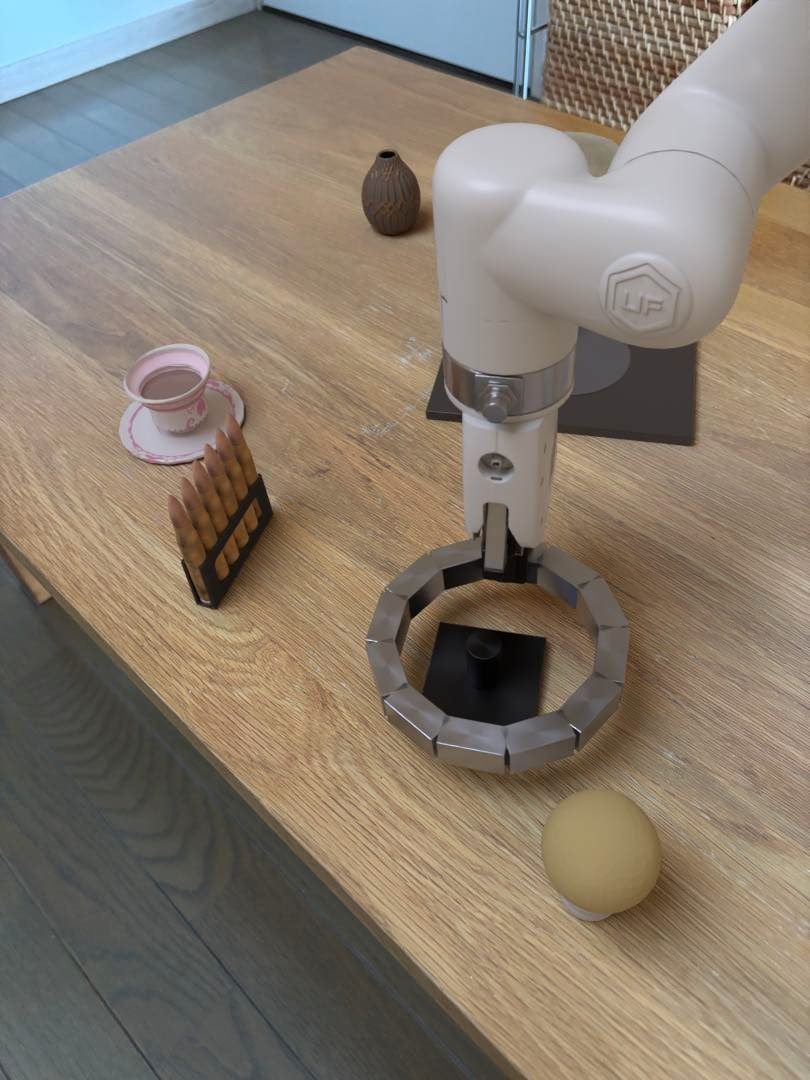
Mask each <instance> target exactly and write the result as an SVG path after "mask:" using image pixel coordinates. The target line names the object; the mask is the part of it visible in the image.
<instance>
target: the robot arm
mask: <svg viewBox="0 0 810 1080" xmlns="http://www.w3.org/2000/svg"><path fill="white" fill-rule="evenodd" d="M562 132H563V131H561V130H558V129H556V128H554V127H551V126H547V125H543V124H538V123H530V122H504V123H496V124H491V125H487V126H482V127H478V128H475V129H472V130H470V131H468V132H466V133H464V134H461V136H458V137H457V138H455V139H454V140H453V141H452V142H451V143H449V144H448V145H447V146H446V147H445V148H444V150H443V151H442V153H441V154H440V155H439V157H438V158H437V161H436V163H435V166H434V169H433V172H432V178H431V199H432V201H431V202H432V203H431V204H432V216H433V230H434V231H433V232H434V246H435V261H436V262H435V263H436V277H437V292H438V307H439V323H440V335H441V338H440V339H441V351H442V352H441V353H442V357H443V369H444V384H445V390H446V393H447V395H448V397H449V399H450V400H451V401H452V403H453V404H454V405H455V406H456V407H457V408H459V409H460V410H461V411H462V422H461V440H460V441H461V442H460V443H461V447H462V448H461V458H462V459H461V461H462V463H461V465H462V466H461V468H462V499H463V500H462V501H463V516H464V517H463V518H464V527H465V532H466V534H467V536H468V538H469V539H472V540H473V541H475V539H476V538H479V537H480V536H482V542H481V555H482V577H483V578H484V580H486V581H494V582H497V583H501V584H517V585H525V584H527V583H526V582H527V576H528V548H529V547H530V548H535V547H536V546H538V545H539V544H540V543H541V542H543V539H544V535H545V531H546V526H547V521H548V514H549V510H550V509H549V508H550V503H551V498H552V497H551V496H552V489H553V484H554V479H555V472H556V464H557V457H558V456H557V455H558V454H557V453H558V432H557V421H558V408H559V407H560V406H561V405H563V404H564V403H565V401H566V400H567V399H568V398H569V396H570V394H571V392H572V390H573V387H574V379H575V364H576V351H577V338H578V326H581V327H583V328H586V329H588V330H591V331H593V332H596V333H598V334H601V335H603V336H606V337H609V338H612V339H615V340H618V341H620V342H623V343H627V344H631V345H635V346H640V347H645V348H656V349H668V348H677V347H681V346H685V345H689V344H691V343H694V342H696V343H697V342H698V341H700V340H703V339H704V338H705V337H707V336H708V335H710V334H711V333H712V332H714V331H715V330H716V329H717V328H718V327H719V326H720V325H721V324H722V323H723V322H724V320H725V319H726V317H727V316H728V314H729V313H730V312H731V310H732V308H733V306H734V303H735V301H736V300H737V297H738V295H739V292H740V289H741V285H742V282H743V279H744V274H745V271H746V266H747V262H748V257H749V254H750V249H751V245H752V240H753V236H754V231H755V227H756V224H757V219H758V216H759V215H758V214H759V212H760V206H761V202H762V198H763V197H765V195H766V194H768V193H769V192H770V191H771V190H772V189H773V188H774V187H776V186H777V185H779V183H780V182H782V181H783V180H785V179H786V178H787V177H788V176H790V175H791V174H793V172H795V171H796V170H798V169H799V168H800V167H801V166H803V165H804V164H805V163H807V162H808V161H809V160H810V0H757V1H756V2H755V3H754V4H753V5H752V6H750V7H749V8H748V9H747V10H746V11H745V12H744V13H743V14H742V15H741V16H740V17H738V19H736V20H735V21H734V23H732V24H731V25H730V26H729V27H728V28H727V29H726V30H725V31H724V32H723V33H722V34H721V35H720V36H719V37H717V39H715V40H714V42H712V43H711V44H710V45H709V46H708V47H707V48H706V49H705V50H704V51H703V52H702V53H701V54H700V55H698V57H697V58H696V59H694V61H692V62H691V63H690V64H689V65H688V66H687V67H686V68H685V69H684V70H683V71H682V72H681V73H680V74H679V75H678V76H677V77H676V78H675V79H673V81H672V82H671V83H669V85H668V86H666V88H665V89H664V90H662V92H660V93H659V95H657V97H656V98H655V99H654V100H653V101H652V102H651V103H650V104H649V105H648V106H647V107H646V108H645V109H644V111H642V113H641V114H640V115H639V116H638V117H637V119H636V120H635V122H634V123H633V124H632V126H630V128H629V129H628V131H627V133H626V134H625V135H624V138H623V140H622V141H621V143H620V145H619V146H620V147H619V149H618V151H617V152H616V154H615V156H614V158H613V160H612V162H611V165H610V167H609V169H608V171H607V174H605V175H603V176H601V177H594V176H592V175H591V174H590V173H589V168H588V164H587V160H586V157H585V155H584V153H583V151H582V150H581V148H580V147H579V145H578V144H577V143H576V142H575V141H574V140H573V139H572V138H570V137H569V136H567V135H566V134H564V133H562Z"/></svg>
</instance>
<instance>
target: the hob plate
mask: <svg viewBox="0 0 810 1080" xmlns="http://www.w3.org/2000/svg"><path fill="white" fill-rule="evenodd" d="M696 345H697V341H696V342H694V343H691V344H689V345H685V346H681V347H677V348H668V349H656V348H645V347H640V346H635V345H631V344H627V343H623V342H620V341H618V340H615V339H612V338H609V337H606V336H603V335H601V334H598V333H596V332H593V331H591V330H588V329H586V328H583V327H581V326H578V338H577V351H576V364H575V379H574V387H573V390H572V392H571V394H570V396H569V398H568V399H567V400H566V401H565V403H564V404H563V405H561V406H560V407H559V408H558V421H557V433H562V434H573V435H582V436H591V437H601V438H602V437H603V438H611V439H612V438H613V439H620V440H621V439H623V440H631V441H641V442H650V443H660V444H669V445H670V444H671V445H678V446H688V447H691V446H692V445H693V442H694V438H695V437H694V434H695V431H694V430H695V428H694V427H695V391H696V390H695V389H696V388H695V387H696V352H697V351H696ZM441 357H442V358H441V361H440V364H439V366H438V367H439V368H438V370H437V374H436V376H435V379H434V383H433V386H432V390H431V393H430V395H429V399H428V402H427V406H426V408H425V418H426V419H427V420H436V421H444V422H445V421H447V422H457V423H462V411H461V410H460V409H459V408H457V407H456V406H455V405H454V404H453V403H452V401H451V400H450V399H449V397H448V395H447V393H446V390H445V384H444V369H443V356H441Z"/></svg>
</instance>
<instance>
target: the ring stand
mask: <svg viewBox="0 0 810 1080" xmlns="http://www.w3.org/2000/svg"><path fill="white" fill-rule="evenodd" d="M547 641H548V638H547V637H545V636H539V635H531V634H526V633H519V632H511V631H506V630H499V629H492V628H484V627H478V626H471V625H464V624H459V623H451V622H445V621H439V623H438V628H437V631H436V636H435V640H434V644H433V648H432V651H431V656H430V659H429V660H430V661H429V665H428V669H427V673H426V676H425V681H424V685H423V690H422V693H421V694H422V695H423V696H425V697H426V698H427V699H428V700H429V701H431V702H432V703H433V704H434V705H436V706H437V707H438V708H439V709H441V710H442V711H443V712H444V713H446V714H447V715H448V716H452V717H457V718H463V719H468V720H474V721H479V722H485V723H490V724H496V725H501V726H506V725H510V724H513V723H516V722H520V721H523V720H526V719H530V718H533V717H536V716H537V709H538V702H539V697H540V690H541V684H542V683H541V682H542V677H543V676H542V675H543V669H544V662H545V655H546V649H547Z"/></svg>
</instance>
